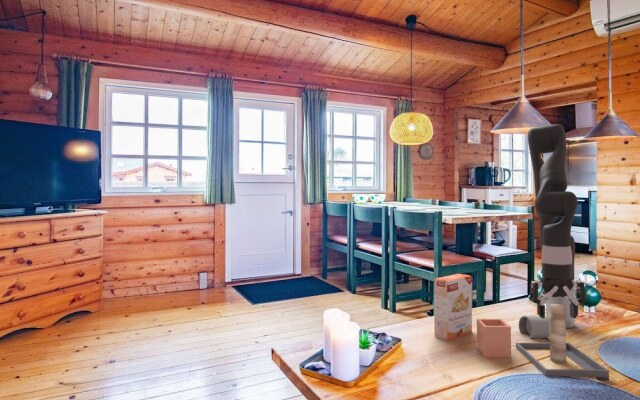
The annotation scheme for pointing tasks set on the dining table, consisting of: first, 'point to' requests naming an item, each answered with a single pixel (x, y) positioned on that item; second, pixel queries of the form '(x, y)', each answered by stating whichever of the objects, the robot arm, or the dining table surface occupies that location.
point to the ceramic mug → (535, 326)
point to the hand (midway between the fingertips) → (557, 317)
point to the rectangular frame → (575, 355)
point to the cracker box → (452, 306)
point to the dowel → (557, 333)
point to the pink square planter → (494, 338)
